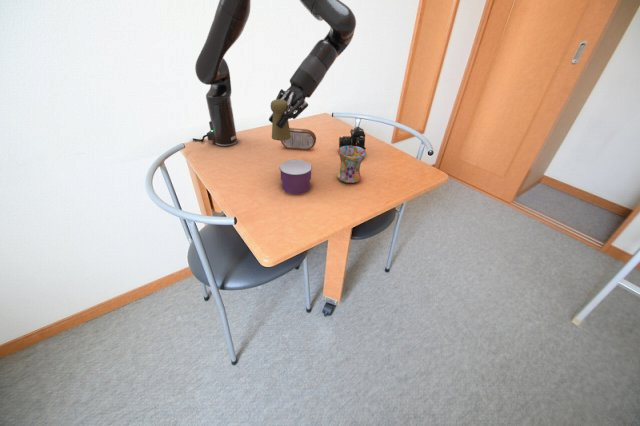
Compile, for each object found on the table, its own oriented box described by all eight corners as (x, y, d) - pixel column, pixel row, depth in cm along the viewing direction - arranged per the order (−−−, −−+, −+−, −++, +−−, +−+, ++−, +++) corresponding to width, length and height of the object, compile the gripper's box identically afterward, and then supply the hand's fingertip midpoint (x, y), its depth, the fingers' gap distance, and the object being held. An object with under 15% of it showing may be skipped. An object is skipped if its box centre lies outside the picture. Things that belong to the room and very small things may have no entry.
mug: (365, 183, 95) (370, 155, 88) (341, 186, 92) (343, 158, 86) (353, 168, 104) (356, 141, 98) (330, 170, 102) (332, 143, 95)
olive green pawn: (294, 134, 87) (292, 98, 80) (286, 141, 82) (284, 104, 75) (277, 132, 88) (274, 96, 81) (268, 138, 83) (264, 101, 77)
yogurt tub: (277, 193, 88) (275, 173, 83) (284, 177, 96) (283, 158, 91) (309, 196, 87) (309, 176, 82) (313, 180, 95) (314, 160, 91)
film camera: (331, 145, 121) (332, 122, 115) (356, 142, 124) (359, 120, 118) (346, 162, 107) (348, 138, 101) (374, 159, 111) (378, 135, 105)
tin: (316, 148, 117) (316, 129, 112) (315, 151, 115) (315, 131, 110) (281, 145, 118) (280, 126, 113) (280, 148, 116) (279, 129, 111)
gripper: (288, 63, 82) (255, 110, 83) (314, 71, 72) (277, 124, 74) (303, 80, 87) (272, 124, 89) (329, 90, 78) (294, 139, 80)
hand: (274, 124), depth 81 cm, fingers closed on olive green pawn, 4 cm apart
